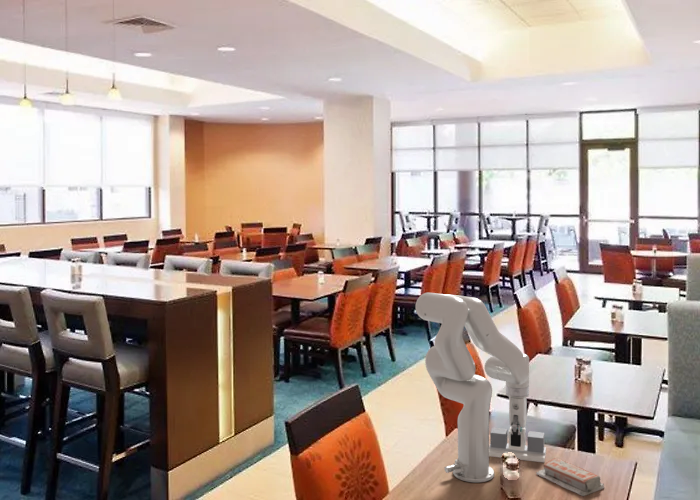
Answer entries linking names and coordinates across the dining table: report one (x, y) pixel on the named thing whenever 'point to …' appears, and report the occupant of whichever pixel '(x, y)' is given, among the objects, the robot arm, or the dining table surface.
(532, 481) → the dining table surface
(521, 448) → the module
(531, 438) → the rail board
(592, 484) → the packaged product
